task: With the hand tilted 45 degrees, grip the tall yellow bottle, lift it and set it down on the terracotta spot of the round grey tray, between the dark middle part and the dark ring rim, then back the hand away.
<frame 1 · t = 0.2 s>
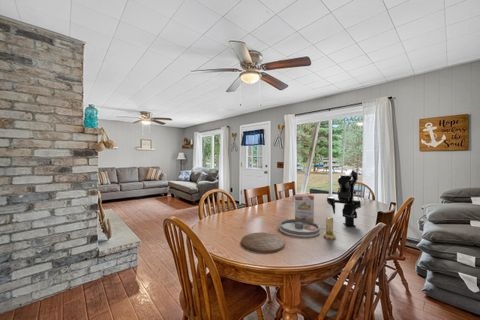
hand: (342, 215, 125), 14 cm above the table, tool tilted 35°, fingers open, 9 cm apart
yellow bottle: (329, 237, 127), on the table
trivet: (262, 243, 118), on the table
round grey tray: (299, 229, 141), on the table
cracker box: (304, 221, 159), on the table
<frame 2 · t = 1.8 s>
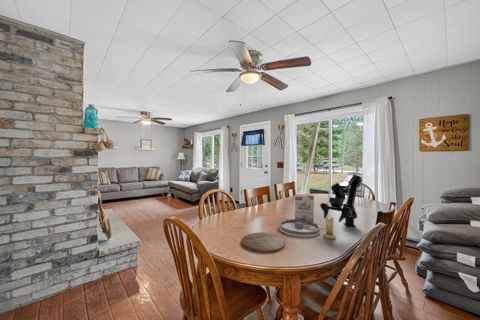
hand: (331, 220, 129), 10 cm above the table, tool tilted 45°, fingers open, 9 cm apart
nothing on the table moved.
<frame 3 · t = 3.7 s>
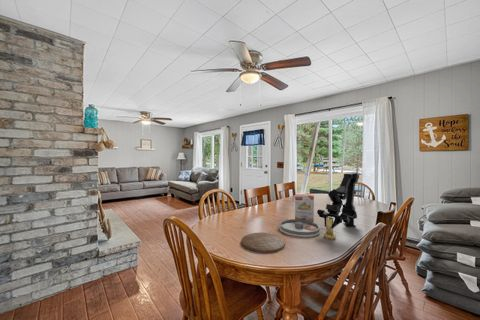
hand: (328, 227, 126), 7 cm above the table, tool tilted 45°, fingers closed on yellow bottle, 4 cm apart
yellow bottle: (329, 237, 127), on the table, touching gripper
everything else where it was.
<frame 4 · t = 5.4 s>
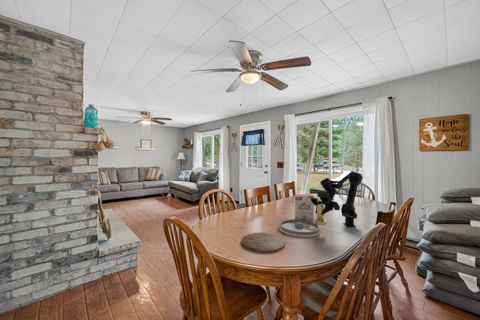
hand: (318, 213, 131), 13 cm above the table, tool tilted 45°, fingers closed on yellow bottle, 4 cm apart
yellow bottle: (320, 223, 132), point 7 cm above the table, touching gripper
everything else where it was.
when the fingers open (9 cm above the table, at t = 7.4 s): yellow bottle drops 1 cm, resting on round grey tray.
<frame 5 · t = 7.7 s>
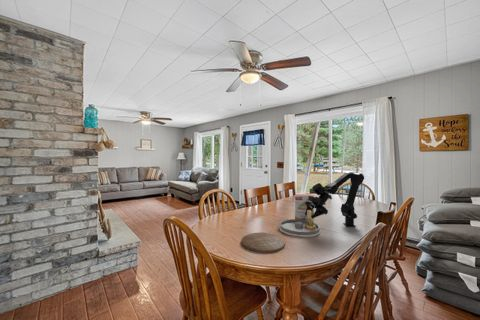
hand: (308, 216, 140), 9 cm above the table, tool tilted 45°, fingers open, 7 cm apart
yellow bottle: (310, 228, 140), point 1 cm above the table, touching round grey tray
everything else where it was.
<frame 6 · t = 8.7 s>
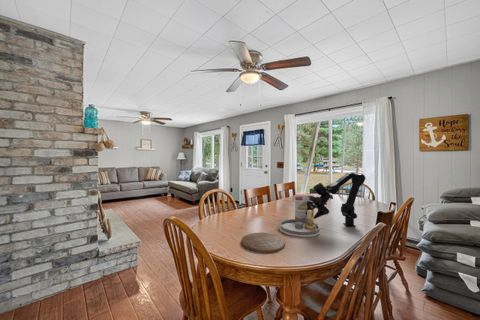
hand: (309, 216, 140), 9 cm above the table, tool tilted 45°, fingers open, 9 cm apart
nothing on the table moved.
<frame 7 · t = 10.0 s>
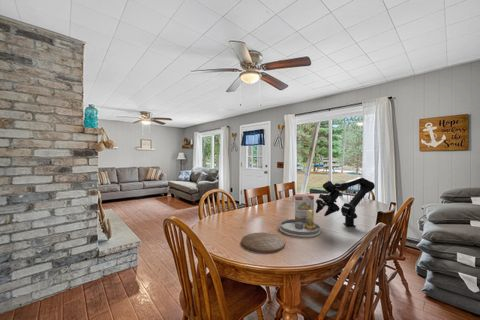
hand: (320, 214, 142), 10 cm above the table, tool tilted 45°, fingers open, 9 cm apart
nothing on the table moved.
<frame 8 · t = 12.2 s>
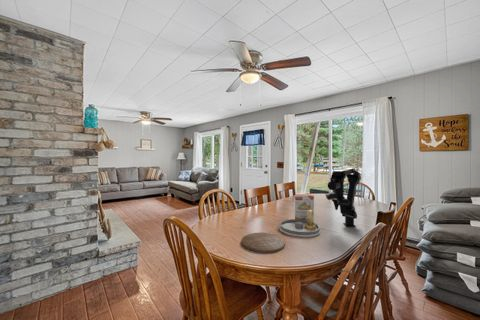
hand: (338, 211, 138), 13 cm above the table, tool pointing down, fingers open, 9 cm apart
nothing on the table moved.
at the end: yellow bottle 0.0 cm from the target spot on the round grey tray, point 1.2 cm above the round grey tray's base; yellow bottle tilted 0°; the gripper is holding nothing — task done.
